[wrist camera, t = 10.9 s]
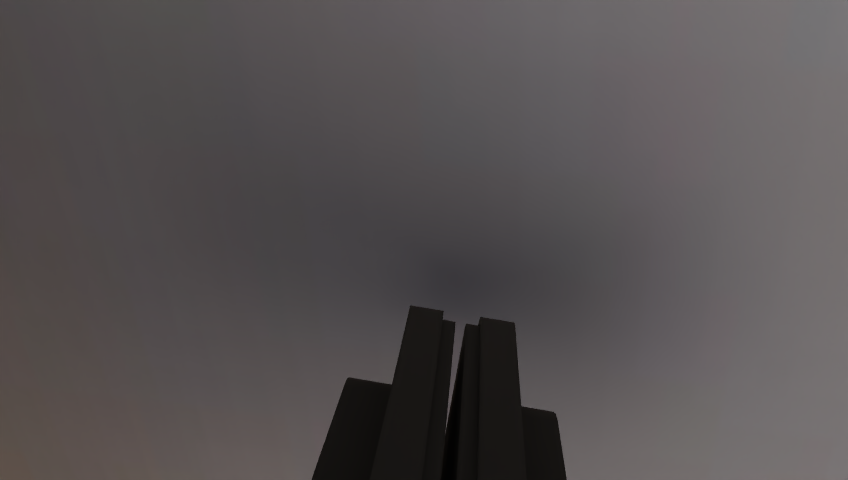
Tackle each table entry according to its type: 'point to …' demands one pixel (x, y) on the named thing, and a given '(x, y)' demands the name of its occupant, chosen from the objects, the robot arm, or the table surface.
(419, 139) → the table surface
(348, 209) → the table surface
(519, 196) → the table surface
